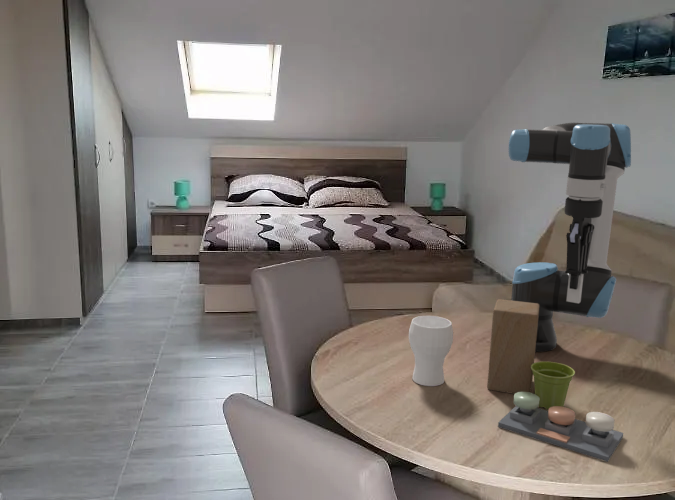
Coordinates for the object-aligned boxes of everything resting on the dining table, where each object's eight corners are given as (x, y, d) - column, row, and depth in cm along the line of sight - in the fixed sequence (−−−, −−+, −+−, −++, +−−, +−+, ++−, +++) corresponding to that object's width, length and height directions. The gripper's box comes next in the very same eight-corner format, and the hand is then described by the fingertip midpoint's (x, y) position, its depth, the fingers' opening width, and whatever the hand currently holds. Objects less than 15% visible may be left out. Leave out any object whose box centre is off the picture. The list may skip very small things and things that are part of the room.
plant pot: (521, 396, 149) (524, 361, 147) (560, 395, 150) (564, 360, 148) (537, 414, 140) (540, 377, 138) (578, 413, 141) (582, 377, 139)
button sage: (509, 410, 135) (510, 397, 135) (518, 402, 139) (519, 389, 139) (533, 418, 132) (534, 404, 132) (541, 409, 136) (543, 396, 136)
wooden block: (532, 380, 158) (539, 303, 153) (530, 397, 148) (538, 315, 144) (491, 374, 161) (497, 298, 157) (486, 390, 152) (493, 309, 147)
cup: (401, 384, 153) (404, 325, 150) (412, 368, 163) (415, 312, 160) (445, 392, 150) (449, 331, 147) (453, 375, 160) (457, 318, 156)
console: (497, 426, 134) (498, 416, 133) (518, 406, 143) (519, 397, 143) (607, 461, 121) (609, 450, 121) (622, 437, 131) (624, 427, 130)
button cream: (581, 432, 127) (583, 418, 126) (588, 422, 131) (590, 409, 130) (609, 440, 124) (610, 426, 123) (615, 430, 128) (617, 416, 127)
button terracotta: (543, 426, 131) (545, 412, 131) (551, 416, 135) (553, 403, 135) (569, 433, 128) (570, 420, 128) (576, 424, 132) (578, 411, 132)
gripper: (594, 203, 130) (582, 312, 136) (610, 195, 140) (598, 297, 146) (557, 199, 134) (547, 305, 140) (575, 192, 145) (565, 291, 150)
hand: (573, 301), depth 143 cm, fingers closed
